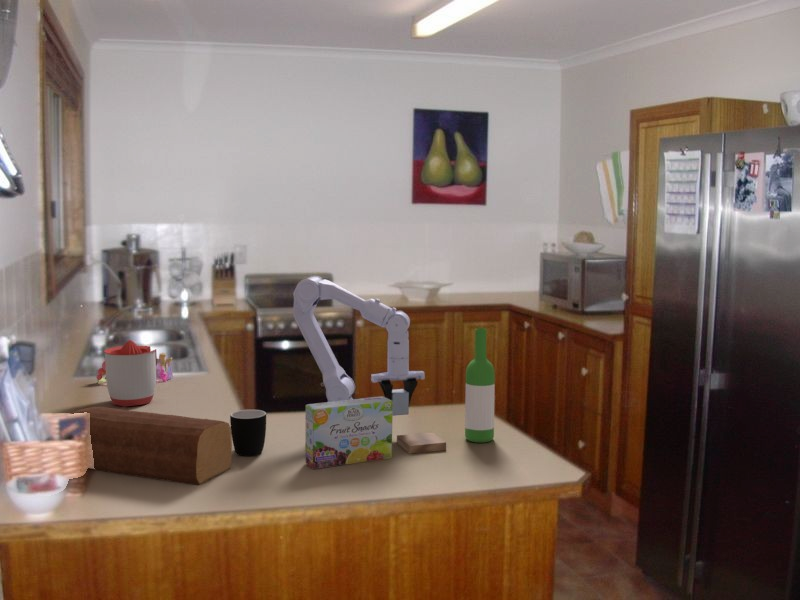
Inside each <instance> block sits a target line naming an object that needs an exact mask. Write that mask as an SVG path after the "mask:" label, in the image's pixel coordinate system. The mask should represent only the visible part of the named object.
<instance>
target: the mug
mask: <svg viewBox="0 0 800 600" xmlns="http://www.w3.org/2000/svg"><path fill="white" fill-rule="evenodd" d="M229 416H230V417H229V421H230V422H229V424H230V428H231V433H232V447H233V449H234V452H235V453H236V454H237V455H238V456H241V457H255V456H258V455H260V454H262V453H263V451H264V446H265V442H266V441H265V440H266V432H267V412H266V411H264V410H261V409H242V410H241V409H240V410H237V411H233V412H231V413H230V415H229Z"/></svg>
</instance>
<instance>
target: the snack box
mask: <svg viewBox="0 0 800 600" xmlns="http://www.w3.org/2000/svg"><path fill="white" fill-rule="evenodd" d="M392 412H393V401H392V400H390V399H388V398H385V396H384V395H381V396H371V397H364V398H353V399H352V400H343V401H334V402H328V401H327V402H317V403H308V404H305V422H304V423H305V433H304V434H305V447H304V448H305V464H307V465H308V467H310V468H311V469H312V470H317V469H322V468H330V467H331V468H332V467H336V466H345V465H351V464H359V463H367V462H373V461H380V460H386V459H391V458H392V456H393V415H392Z"/></svg>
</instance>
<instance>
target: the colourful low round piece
mask: <svg viewBox="0 0 800 600" xmlns="http://www.w3.org/2000/svg"><path fill="white" fill-rule="evenodd" d="M158 355H159V356H158V359H160V360H161V362H162V363H157V365H156V383H157V384H158V383H163V382H167V381H169V380H172V379H173V377H174V375H173V369H172V361H173V357H169V358H166V356H167V353H165V352H160V353H159V354H158ZM103 376H104V377H103ZM96 383H97V384H98V385H99V386H105V387H107V382H106V364H105V360H104V361H103V362H102V364H101V367H100V368H99V369H98V370H97V375H96Z"/></svg>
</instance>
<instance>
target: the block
mask: <svg viewBox="0 0 800 600" xmlns="http://www.w3.org/2000/svg"><path fill="white" fill-rule="evenodd" d="M392 401H393V412H392V417H394V416H395V417H396V416H404V415H406V416H407V415H409V414H410V413H409V407H410V405H409V392H407V391H406V390H404V388H400V389H399V388H397V389H392Z"/></svg>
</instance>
